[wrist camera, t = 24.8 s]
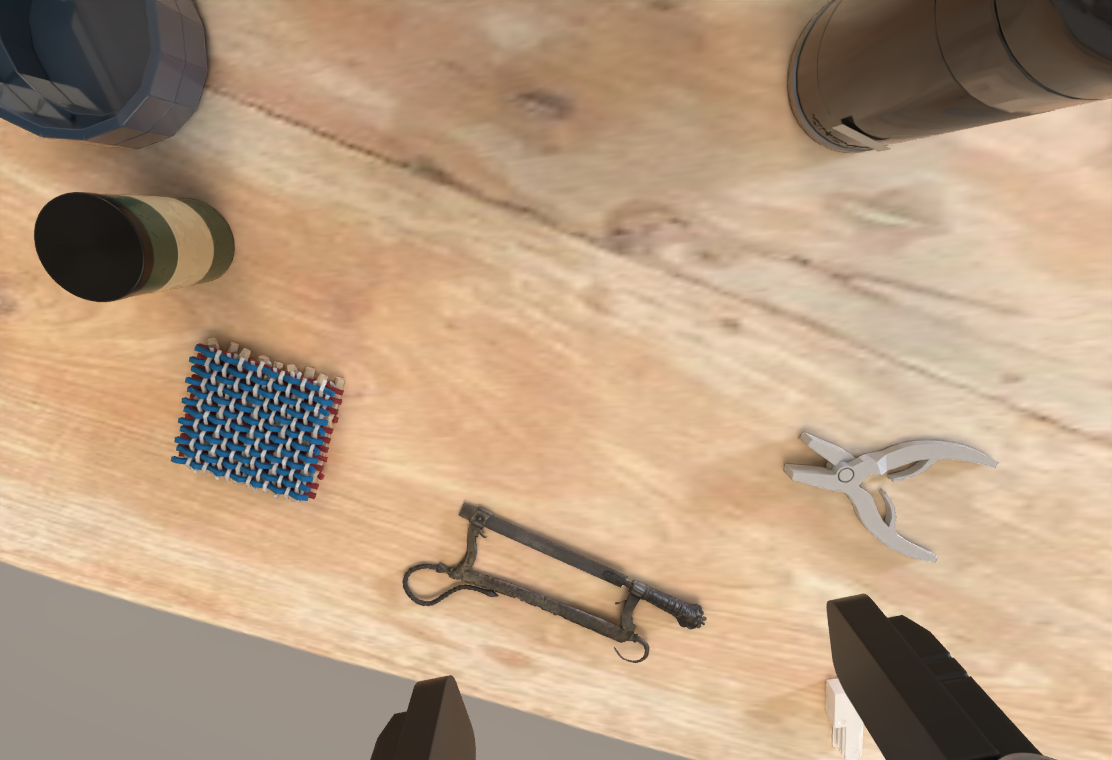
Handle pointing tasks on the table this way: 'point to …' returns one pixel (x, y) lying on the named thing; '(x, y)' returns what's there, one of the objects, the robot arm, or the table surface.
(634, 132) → the table surface
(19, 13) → the slate bowl
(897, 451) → the pliers
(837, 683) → the corner connector
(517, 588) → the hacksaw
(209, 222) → the green tin
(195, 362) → the woven mat
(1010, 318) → the table surface
